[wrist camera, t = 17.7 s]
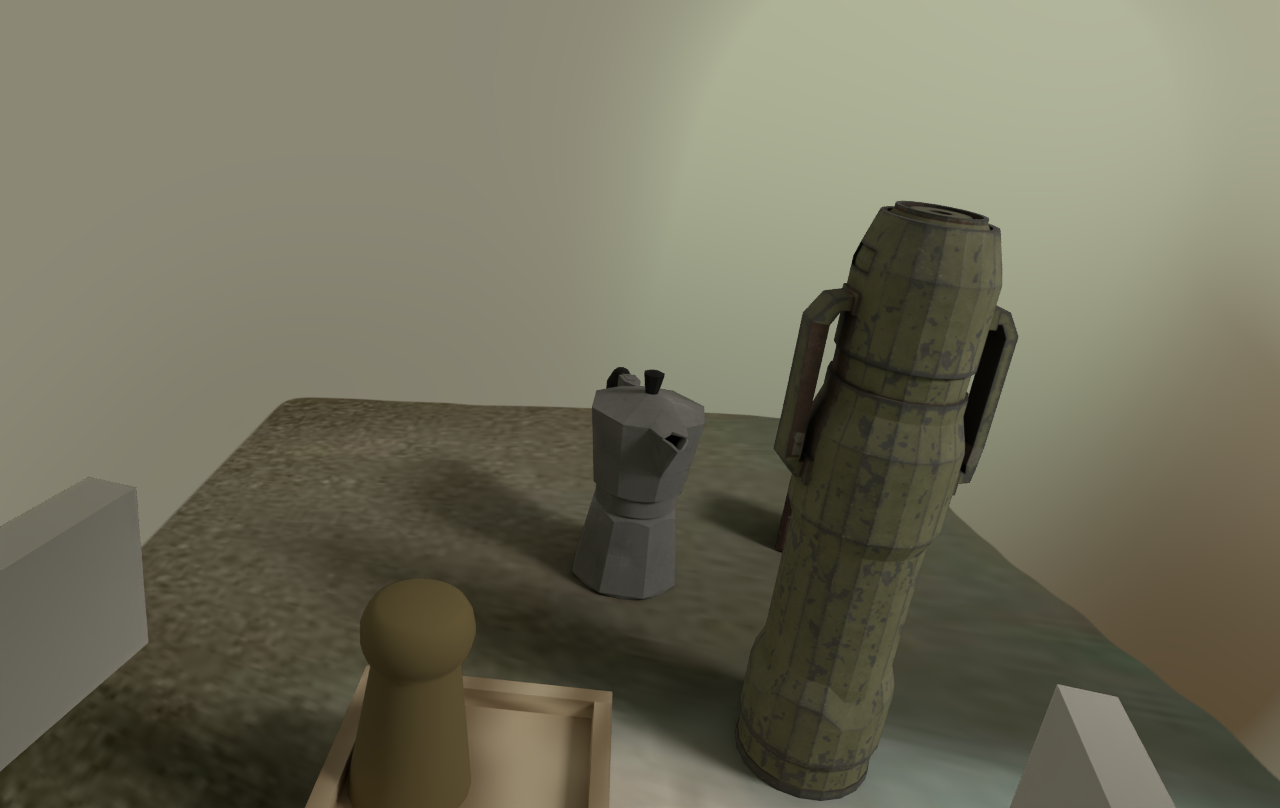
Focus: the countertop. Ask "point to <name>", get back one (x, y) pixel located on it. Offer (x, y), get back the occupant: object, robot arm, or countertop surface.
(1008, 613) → the countertop surface
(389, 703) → the cork
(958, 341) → the thermos
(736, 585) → the countertop surface
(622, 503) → the coffeepot
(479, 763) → the oak stand
